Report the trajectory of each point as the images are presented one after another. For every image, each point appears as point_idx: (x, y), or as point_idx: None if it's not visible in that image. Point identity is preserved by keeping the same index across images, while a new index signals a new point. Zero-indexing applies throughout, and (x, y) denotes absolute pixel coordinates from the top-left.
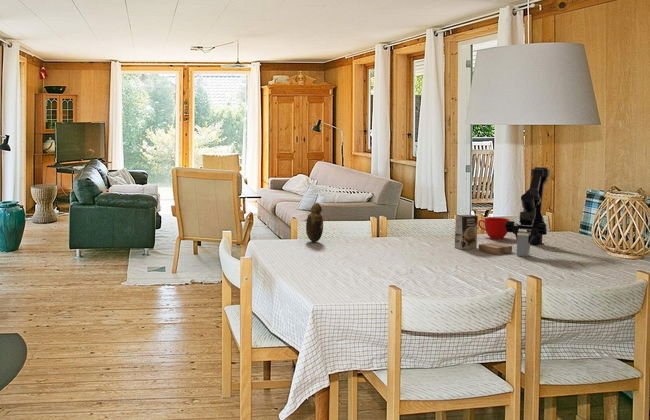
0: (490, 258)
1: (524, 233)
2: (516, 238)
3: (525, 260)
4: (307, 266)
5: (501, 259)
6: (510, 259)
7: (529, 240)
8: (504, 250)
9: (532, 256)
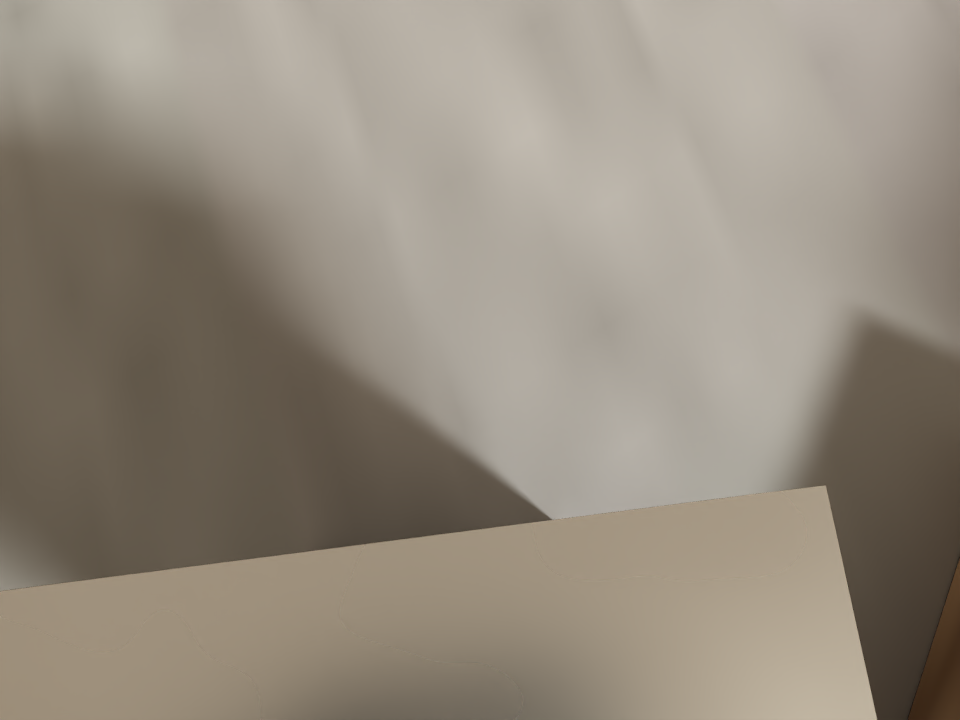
0: (882, 12)
1: (292, 558)
2: None
3: (252, 175)
4: None
5: (681, 29)
6: (540, 115)
7: None
8: (958, 716)
9: None
